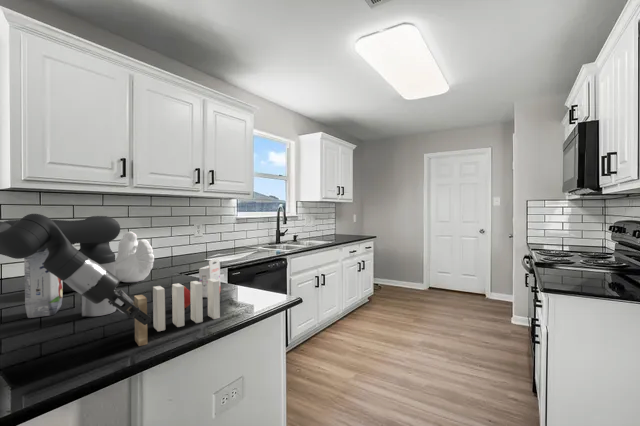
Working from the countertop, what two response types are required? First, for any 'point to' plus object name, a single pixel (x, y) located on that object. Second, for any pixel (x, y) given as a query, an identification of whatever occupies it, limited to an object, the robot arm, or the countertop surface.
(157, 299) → the domino
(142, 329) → the maple tile
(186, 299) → the onion
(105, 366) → the countertop surface
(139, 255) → the decorative rooster
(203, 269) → the ink cartridge box
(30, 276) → the juice carton
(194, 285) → the domino
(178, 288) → the domino
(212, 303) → the domino
